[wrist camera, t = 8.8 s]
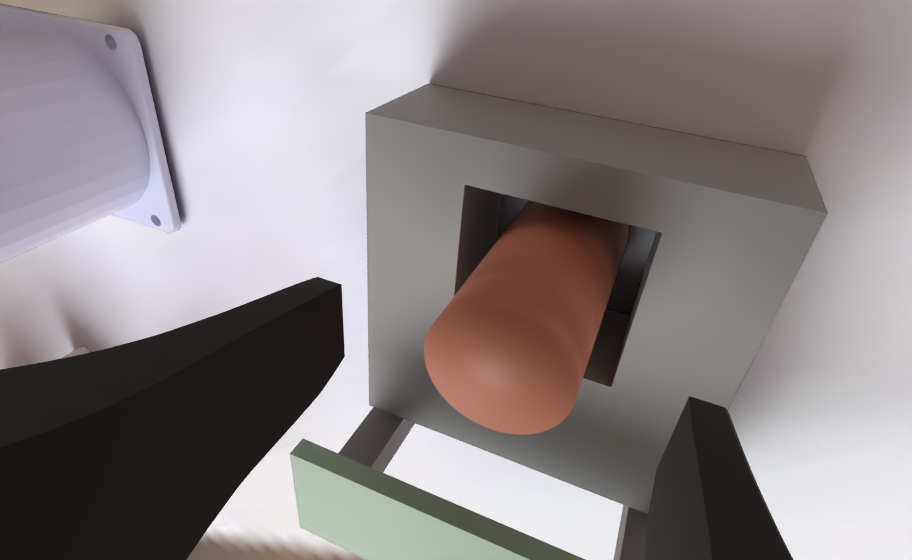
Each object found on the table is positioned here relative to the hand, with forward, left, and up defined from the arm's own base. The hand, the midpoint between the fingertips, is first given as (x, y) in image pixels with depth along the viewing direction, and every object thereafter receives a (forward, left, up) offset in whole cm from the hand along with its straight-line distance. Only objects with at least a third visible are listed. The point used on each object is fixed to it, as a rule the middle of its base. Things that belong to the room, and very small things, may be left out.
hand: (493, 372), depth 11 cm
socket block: (0, -3, -7) cm, 7 cm away
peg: (0, 0, -7) cm, 7 cm away
